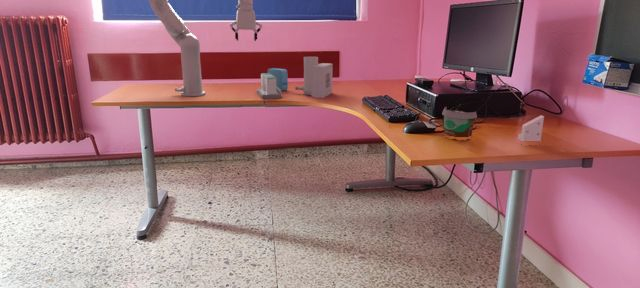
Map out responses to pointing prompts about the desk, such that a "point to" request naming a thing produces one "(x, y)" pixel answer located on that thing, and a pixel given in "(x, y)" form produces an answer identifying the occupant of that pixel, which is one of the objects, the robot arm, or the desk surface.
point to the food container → (458, 123)
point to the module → (264, 81)
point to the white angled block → (532, 130)
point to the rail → (264, 96)
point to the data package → (280, 78)
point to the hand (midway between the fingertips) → (246, 40)
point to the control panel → (317, 78)
